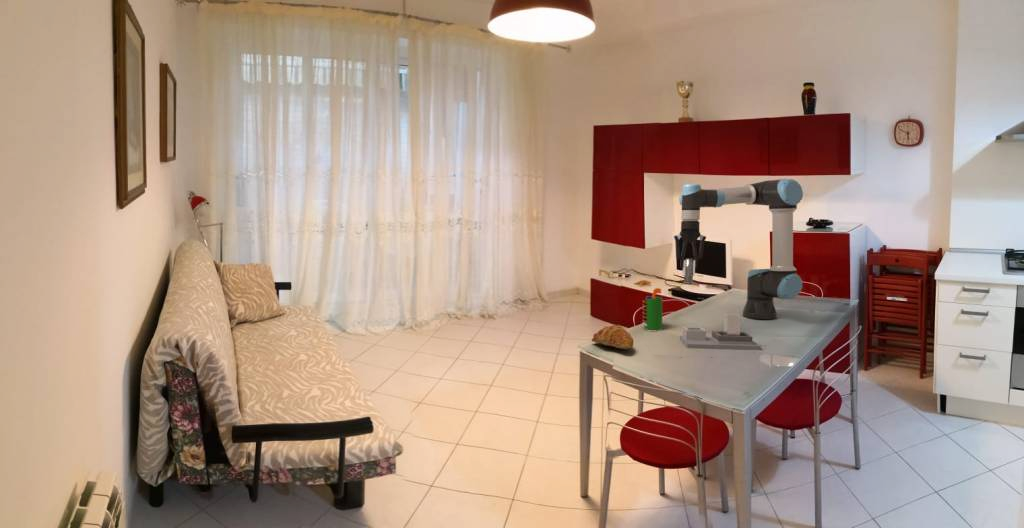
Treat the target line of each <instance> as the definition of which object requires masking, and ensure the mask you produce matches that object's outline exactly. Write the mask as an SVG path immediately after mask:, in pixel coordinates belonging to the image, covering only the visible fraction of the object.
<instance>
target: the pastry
mask: <svg viewBox="0 0 1024 528" xmlns="http://www.w3.org/2000/svg"><path fill="white" fill-rule="evenodd" d="M591 341H592V342H593V343H596V344H600V343H601V345H604V346H608V347H614V348H617V349H625V350H628V349H631V348H633V347H634V344H635V343H634V339H633V336H631V334H630V333H629V332H628V331H627V330H626V329H625V328H624V327H623V326H621V325H617V324H614V325H611V326H610V325H609V326H607V325H606V326H604V327H603V328H601V329H599V330H598V331H597V332H596V333H594V334H593V337H592V338H591ZM597 342H598V343H597Z"/></svg>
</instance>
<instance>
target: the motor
mask: <svg viewBox="0 0 1024 528" xmlns="http://www.w3.org/2000/svg"><path fill="white" fill-rule="evenodd" d="M657 294H662V289H661V288H660V287H656V288H654V289H653V291H652V294H651V296H645V299H643V300H642V306H643V307H642V314H643V315H642V318H643V319H642V322H645V325H646V324H647V326H646V328H647V329H648V330H660V329H662V330H663V297H660V296H656V295H657ZM660 331H661V330H660Z"/></svg>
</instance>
